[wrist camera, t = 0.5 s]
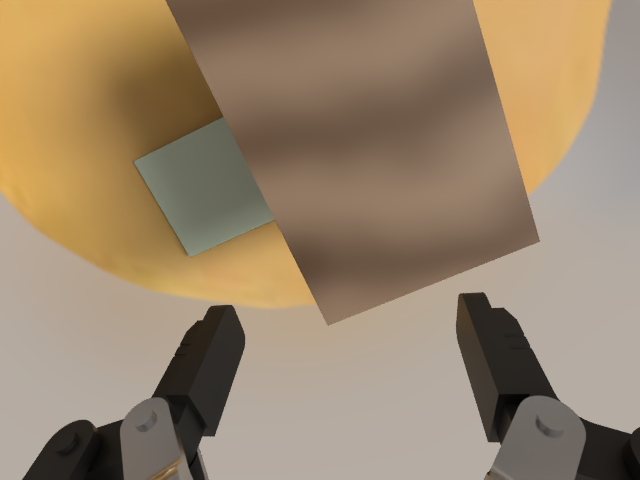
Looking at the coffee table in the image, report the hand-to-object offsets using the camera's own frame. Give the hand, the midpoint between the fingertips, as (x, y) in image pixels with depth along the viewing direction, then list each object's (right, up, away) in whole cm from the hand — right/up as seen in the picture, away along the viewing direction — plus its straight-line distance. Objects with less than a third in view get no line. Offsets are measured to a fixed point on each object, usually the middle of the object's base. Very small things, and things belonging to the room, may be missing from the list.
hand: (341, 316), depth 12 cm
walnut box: (+1, +14, +21) cm, 25 cm away
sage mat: (-11, +8, +23) cm, 27 cm away
